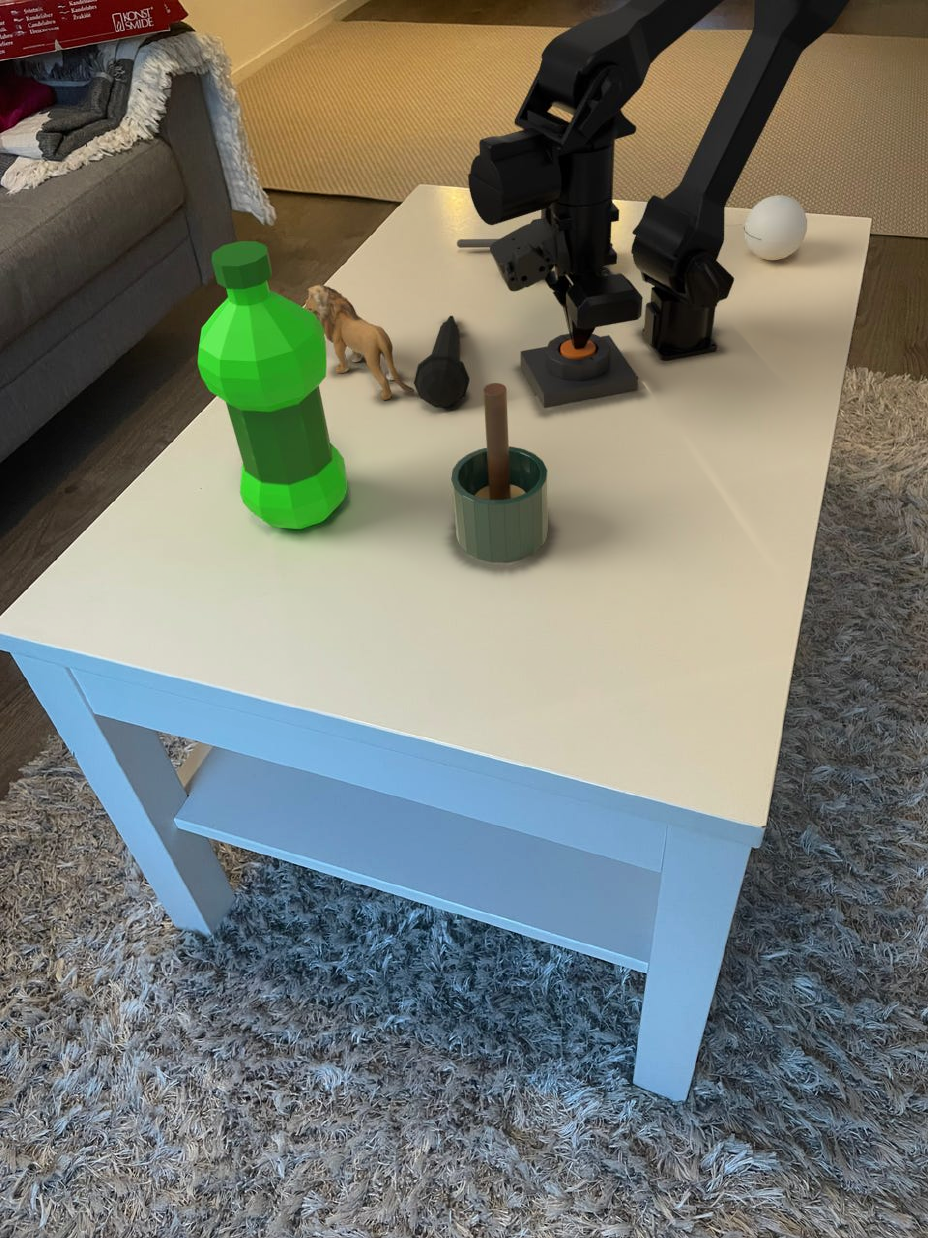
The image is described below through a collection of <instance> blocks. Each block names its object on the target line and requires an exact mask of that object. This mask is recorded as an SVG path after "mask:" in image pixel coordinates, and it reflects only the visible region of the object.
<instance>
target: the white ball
mask: <svg viewBox="0 0 928 1238" xmlns="http://www.w3.org/2000/svg"><path fill="white" fill-rule="evenodd" d="M734 226H737V224H730V225H727V224H726V225H725V227H734ZM739 226H742V223H741V224H740V223H739ZM743 231H744V241H745V244H746V245H747V248H748V249H749V250H750V251H751V252H752V253H753V254H754V255H755V256H756V257H758V258H759V259H763V260H767V261H777V260H782V259H783V260H784V259H786V258H787V257H789V256H790V255H792V254H793V253H794V252H797V250H798V249H799V247H800V246H801V245H802V243H803V242H804V239H805V237H806V234H807V232H808V217H807V215H806V212H805V209H804V207H803V206H802V205H801V203H799V202H798V200H796V199H794V198H793V197H790V196H787V195H783V194H777V195H776V194H775V195H771V196H768V197H765V198H764V199H762V200H761V201H759V202H757V204H755V205H754V206H753V208H751V210H750V212H749V213H748V215H747V216H746V220H745V222H744V226H743Z"/></svg>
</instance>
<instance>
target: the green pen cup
mask: <svg viewBox="0 0 928 1238" xmlns="http://www.w3.org/2000/svg"><path fill="white" fill-rule="evenodd" d="M509 465H510V484H511V485H515V486H517V487H519V488H521V489H522V490H524V491H525V494H522V495H520V496H518V497H515V498H510V499H505V500H488V499H483V498H478V497H476V496H475V494H476V493H477V492H478V491H479V490H481V489H482V488H484V487H487V486H489V477H488V460H487V447H483V448H479V449H477V450H474V451H472V452H470V453H468V454H466V455H464V456H463V457H462V458H460V459H459V460H458V461H457V462H456V464H455V465H454V466H453V469H452V471H451V477H450V481H451V482H450V483H451V493H452V503H453V504H452V505H453V513H454V514H453V515H454V524H455V525H454V526H455V534H456V535H455V536H456V540H457V542H458V544H459V547H460V548H461V549H462V550H463V551H464V552H465V553H466V554H467V555H469V556H471V557H473V558H475V559H477V560H480V561H483V562H489V563H492V564H493V563H497V564H498V563H499V564H500V563H502V564H503V563H505V564H506V563H513V562H517V561H521V560H524V559H526V558H528V557H531V556H533V555H534V554H535V553H536V552H538V551H539V550H540V549H541V548H542V547H543V546H544V544H545V542H546V540H547V538H548V533H549V532H548V530H549V528H548V527H549V522H548V521H549V519H548V518H549V517H548V515H549V514H548V513H549V511H548V509H549V508H548V468H547V467H546V465H545V462H544V461H543V460H542V458H540V457H539V456H537V454H535V453H533V452H531V451H529V450H527V449H525V448H522V447H516V446H510V445H509Z"/></svg>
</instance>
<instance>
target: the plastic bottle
mask: <svg viewBox="0 0 928 1238" xmlns="http://www.w3.org/2000/svg"><path fill="white" fill-rule="evenodd" d="M211 264H212V268H213V272H214V276H215V279H216V284H218V285H219V286H221V287H223V288H224V289H226V293H227V298H226V299H225V300H224V301H223V302H222V303H221V304H220V305H219V306H218V307H217V308H216V310H214V312H213V313H212V315H210V317H209V318H208V320H207V321H206V322H205V323H204V325H203V326H202V327H201V332H200V339H199V345H198V353H197V366H198V370H199V373H200V376H201V378H202V380H203V383H204V384H205V386H206V387H207V389H208V391H209V392H211V393H212V394H213V395H215V396H216V397H218V398H219V399H221V400H222V401H224V403H225V405H226V408H227V411H228V416H229V418H230V422H231V426H232V429H233V433H234V436H235V440H236V444H237V447H238V450H239V455H240V457H241V462H242V465H241V472H240V485H239V486H240V487H239V494H240V497H241V500H242V501H241V502H242V503H243V504H244V505H245V506H246V507H247V509H248V510H249V511H250V512H251V513H252V514H254V515H255V516H257V518H259V519H260V520H262V521H263V522H264V523H266V525H269V526H271V527H272V528H279V529H288V530H289V529H290V530H303V529H306V528H310V527H312V526H315V525H318V524H321V523H322V522H324V521H326V520H327V518H329V516H331V514H332V513H334V512H335V510H336V509H337V508H338V507H339V506H340V505H341V504H342V503H343V501H344V500H345V498H346V494H347V491H348V485H347V484H348V483H347V481H348V480H347V468H346V464H345V459H344V457H343V455H342V453H340V451H339V450H338V448H336V447H335V445H333V443H331V439H330V434H329V430H328V425H327V420H326V415H325V409H324V405H323V400H322V396H321V389H320V385H321V383H322V382H324V380H325V379H326V377H327V341H326V335H325V334H324V330H323V327H322V325H321V323H320V322H319V320H318V319H317V317H316V316H315V314H313V313H311V312H310V311H308V310H306V309H304V306H301V305H299V304H298V303H296V302H294V301H292V300H290V299H288V298H286V297H285V296H283V295H281V294H280V293H277V292H275V291H273V290H270V287H269V283H268V280H269V279H271V278H272V273H273V270H272V263H271V257H270V254H269V249H268V246H267V245H265V244H263V243H262V242H261V243H260V242H259V241H258V240H257V241H256V240H251V241H250V240H249V241H248V240H239V241H235V242H232V243H228V244H224V245H222V246H220V247H219V248H218V249H216V250H214V251H213V252H212V253H211Z"/></svg>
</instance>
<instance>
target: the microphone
mask: <svg viewBox="0 0 928 1238" xmlns="http://www.w3.org/2000/svg"><path fill="white" fill-rule="evenodd" d="M460 343H461V342H460V328H459V325H458V324H457V323H456V321H455V317H454V316H453V315H449V316H448V318H447V320H446V321H444V322H442V324H441V325H440V326H439V330H438V332H437V336H436V339H435V342H434V345H433V348H432V352H431V354H430V355H428V356H427V357H426V358H425V359H423V360H422V361H421V362H419V363H418V364H417V368H416V372H415V376H414V380H413V385H414V388H415V389H416V391H417V394H418V396H419V398H420V399H421V400H422V401H424V402H426V403H428V404H429V405H431V406H433V407H434V408H449V407H453V406H455V405H456V404H457V403H458V402H460V401H461V400H463V399H464V398H465V397H466V395H467V391H468V387H469V384H470V376H469V374H468V371H467V368H466V366H465V364H464V362H463V361H461V360H460V359H461V355H460V353H461V352H460V350H461V348H460Z"/></svg>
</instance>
